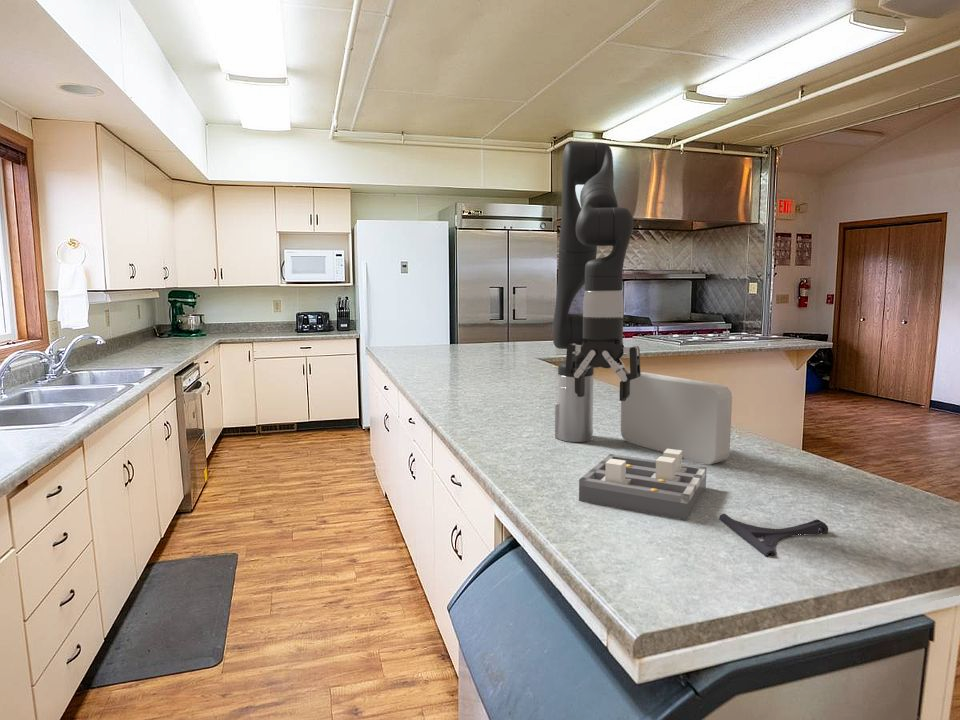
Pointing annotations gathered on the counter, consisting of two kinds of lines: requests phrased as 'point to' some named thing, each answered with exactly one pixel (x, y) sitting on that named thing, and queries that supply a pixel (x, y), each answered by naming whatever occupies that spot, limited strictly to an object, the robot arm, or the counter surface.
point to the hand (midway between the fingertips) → (601, 398)
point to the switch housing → (645, 488)
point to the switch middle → (666, 469)
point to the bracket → (770, 533)
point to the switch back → (678, 456)
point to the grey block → (678, 417)
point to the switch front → (616, 472)
